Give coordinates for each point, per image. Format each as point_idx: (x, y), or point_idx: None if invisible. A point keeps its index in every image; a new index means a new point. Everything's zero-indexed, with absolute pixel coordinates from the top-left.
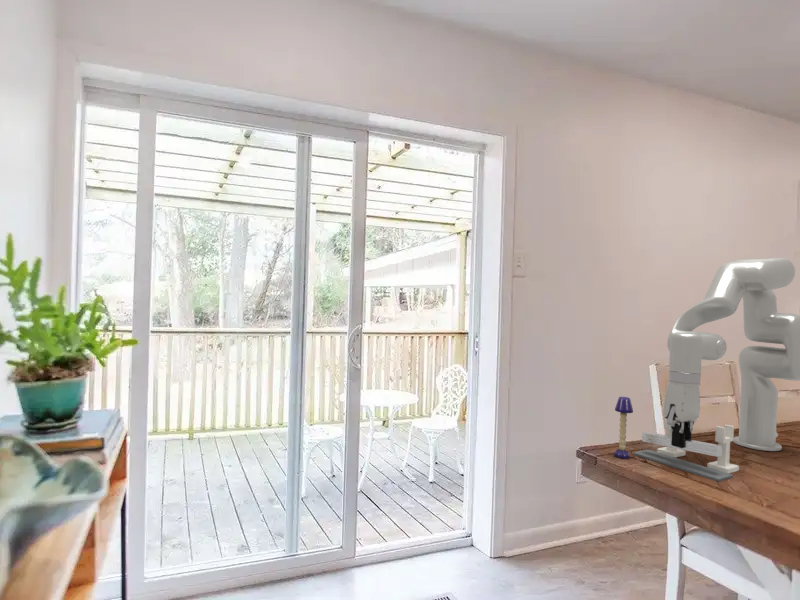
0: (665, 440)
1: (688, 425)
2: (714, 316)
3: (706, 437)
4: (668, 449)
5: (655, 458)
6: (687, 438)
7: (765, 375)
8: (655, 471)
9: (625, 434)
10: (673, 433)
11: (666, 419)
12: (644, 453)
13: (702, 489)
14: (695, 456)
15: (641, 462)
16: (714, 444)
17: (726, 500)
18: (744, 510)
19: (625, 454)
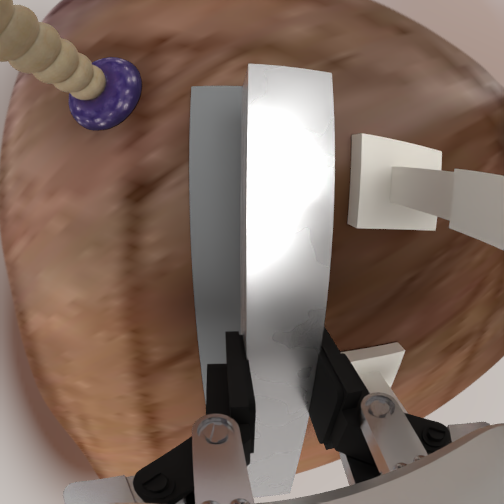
0: (243, 287)
1: (373, 459)
2: None
3: None
4: (392, 179)
5: (206, 208)
6: (311, 407)
7: None
8: (75, 296)
9: (47, 71)
10: (206, 413)
11: None
12: (237, 123)
13: (105, 420)
14: (435, 253)
15: (111, 194)
16: (286, 484)
17: (108, 451)
18: (104, 466)
19: (81, 121)
